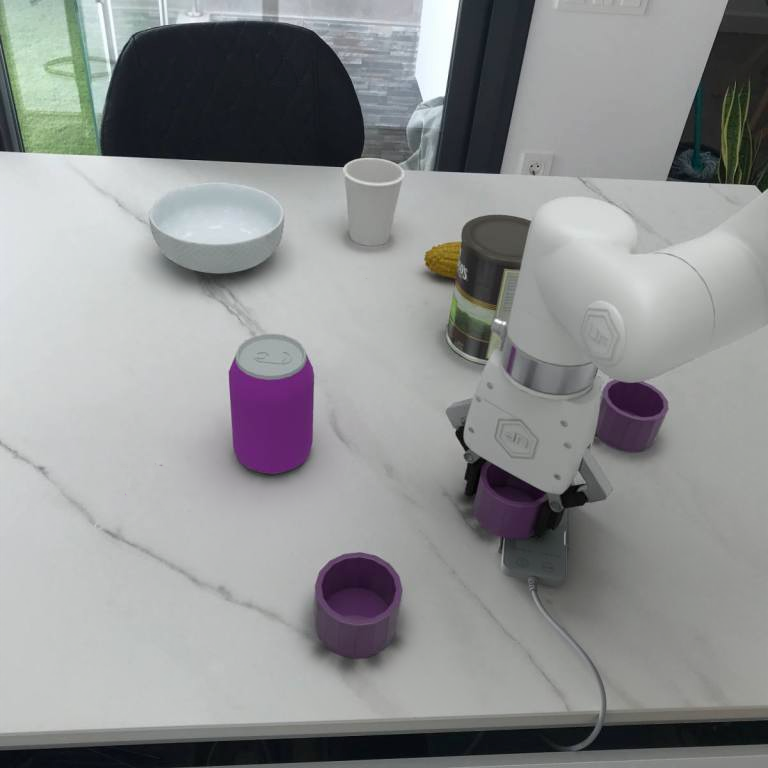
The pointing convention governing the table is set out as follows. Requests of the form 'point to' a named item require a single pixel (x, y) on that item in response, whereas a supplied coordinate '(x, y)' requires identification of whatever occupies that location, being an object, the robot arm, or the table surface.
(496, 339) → the coffee can
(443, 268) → the food
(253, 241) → the cereal bowl
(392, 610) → the dish near
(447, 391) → the table surface
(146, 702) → the table surface
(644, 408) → the dish far
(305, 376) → the beverage can
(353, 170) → the dixie cup
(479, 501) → the dish middle
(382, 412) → the table surface
